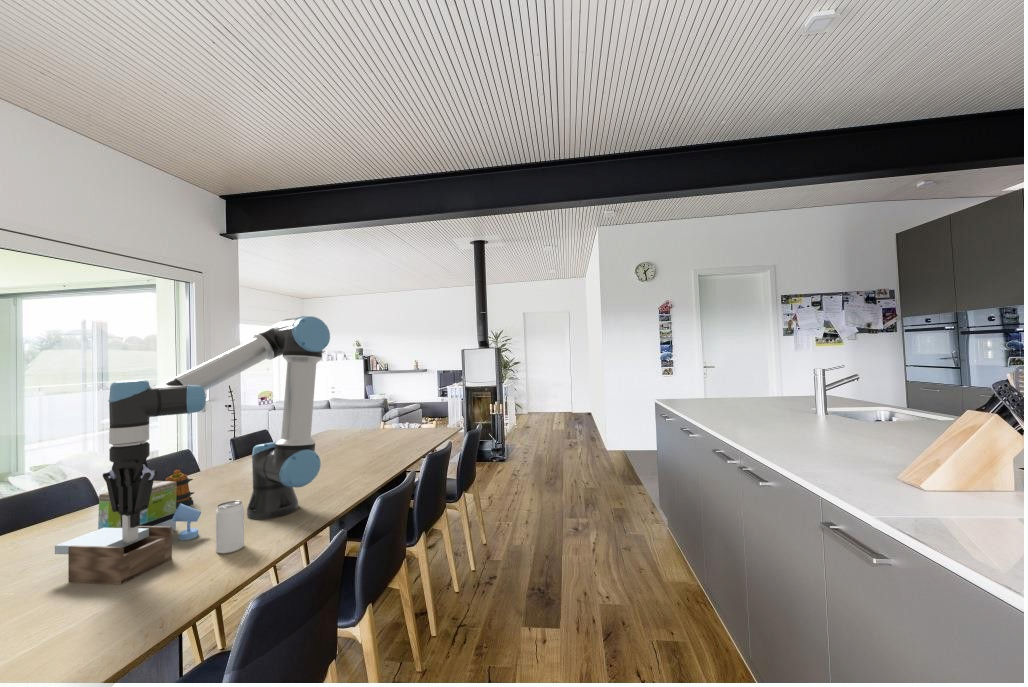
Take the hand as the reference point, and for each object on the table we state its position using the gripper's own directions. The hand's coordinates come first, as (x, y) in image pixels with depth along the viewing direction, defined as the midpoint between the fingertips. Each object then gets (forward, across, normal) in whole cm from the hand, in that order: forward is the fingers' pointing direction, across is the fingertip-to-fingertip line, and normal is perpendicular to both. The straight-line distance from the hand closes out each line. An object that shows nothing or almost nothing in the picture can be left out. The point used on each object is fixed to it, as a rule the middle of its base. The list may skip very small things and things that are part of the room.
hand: (130, 540), depth 109 cm
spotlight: (+7, +4, -20) cm, 21 cm away
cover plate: (+1, +7, 0) cm, 7 cm away
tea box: (+7, +18, -19) cm, 27 cm away
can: (+8, -16, -13) cm, 22 cm away
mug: (+7, +34, -47) cm, 58 cm away
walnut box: (+7, +2, 0) cm, 8 cm away
